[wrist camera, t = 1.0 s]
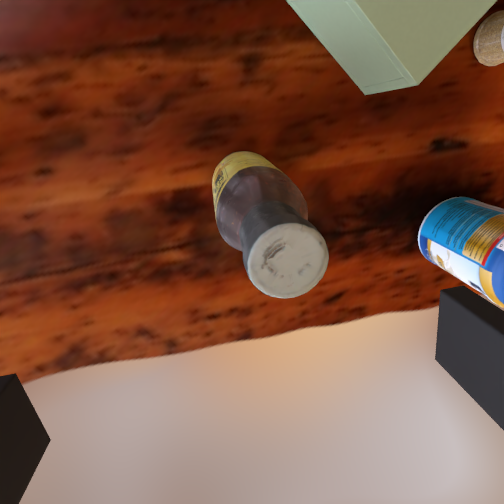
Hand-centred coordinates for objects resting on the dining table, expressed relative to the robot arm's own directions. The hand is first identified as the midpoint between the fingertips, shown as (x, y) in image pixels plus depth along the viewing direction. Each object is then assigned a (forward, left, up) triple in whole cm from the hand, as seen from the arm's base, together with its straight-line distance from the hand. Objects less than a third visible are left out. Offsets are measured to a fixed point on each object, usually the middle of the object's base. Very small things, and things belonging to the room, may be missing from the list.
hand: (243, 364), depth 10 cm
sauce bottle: (-1, +3, -26) cm, 26 cm away
